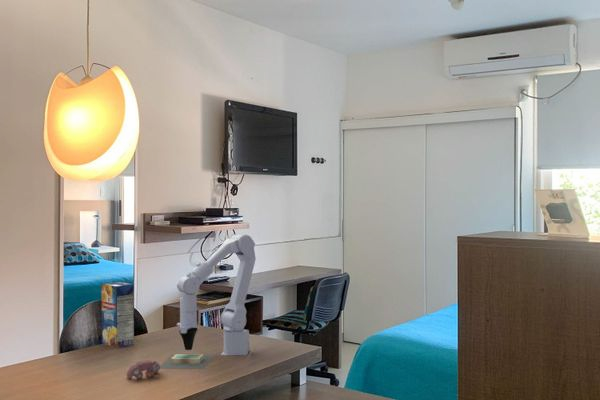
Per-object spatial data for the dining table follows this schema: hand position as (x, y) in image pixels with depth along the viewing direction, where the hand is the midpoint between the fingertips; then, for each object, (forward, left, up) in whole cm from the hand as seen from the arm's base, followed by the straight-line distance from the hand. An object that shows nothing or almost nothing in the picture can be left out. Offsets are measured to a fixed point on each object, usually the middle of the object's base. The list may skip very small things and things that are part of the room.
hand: (188, 349), depth 203 cm
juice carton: (+35, -25, -4) cm, 43 cm away
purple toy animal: (+10, +19, -4) cm, 22 cm away
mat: (0, +2, -4) cm, 5 cm away
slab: (0, -1, -3) cm, 3 cm away
